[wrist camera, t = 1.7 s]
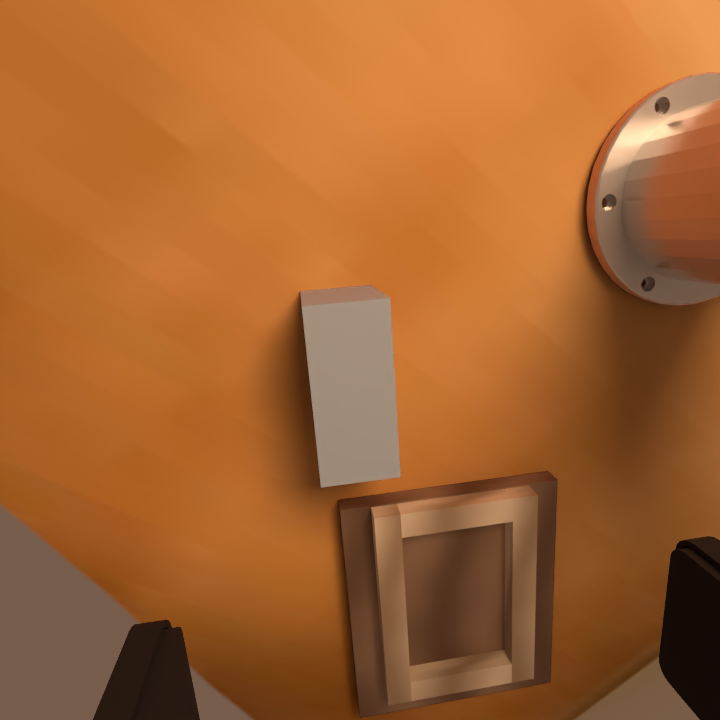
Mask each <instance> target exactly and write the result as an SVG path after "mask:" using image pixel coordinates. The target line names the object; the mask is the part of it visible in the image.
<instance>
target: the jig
mask: <svg viewBox="0 0 720 720" xmlns="http://www.w3.org/2000/svg"><path fill="white" fill-rule="evenodd" d="M338 501H339V512H340V522H341V532H342V543H343V553H344V563H345V573H346V584H347V594H348V604H349V615H350V625H351V635H352V645H353V656H354V666H355V676H356V687H357V697H358V706H359V713H360V718H362V717H367V716H373V715H378V714H384V713H389V712H394V711H400V710H405V709H410V708H416V707H421V706H426V705H432V704H437V703H443V702H448V701H453V700H459V699H464V698H469V697H475V696H480V695H486V694H491V693H496V692H502V691H507V690H512V689H518V688H523V687H528V686H534V685H539V684H545V683H550V677H551V648H552V619H553V590H554V562H555V533H556V504H557V479H556V478H555V477H554V476H553V475H551V474H550V473H549V472H548V471H546V472H539V473H531V474H524V475H517V476H509V477H502V478H495V479H487V480H480V481H473V482H466V483H458V484H451V485H444V486H436V487H429V488H422V489H415V490H407V491H400V492H393V493H385V494H378V495H371V496H364V497H356V498H349V499H342V500H338Z"/></svg>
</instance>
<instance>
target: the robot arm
mask: <svg viewBox="0 0 720 720" xmlns="http://www.w3.org/2000/svg"><path fill="white" fill-rule="evenodd" d="M602 201H603V205H602ZM586 213H587V224H588V233H589V236H590V240H591V243H592V247H593V250H594V252H595V254H596V256H597V258H598V260H599V262H600V264H601V266H602V268H603V269H604V270H605V272H606V273H607V274H608V275H609V277H610V278H611V279H612V280H613V282H615V283H616V284H617V285H618V286H620V287H621V288H622V289H623V290H625V291H626V292H627V293H629V294H632V295H634V296H636V297H638V298H640V299H642V300H646V301H650V302H655V303H659V304H666V305H675V306H681V305H691V304H698V303H701V302H704V301H708V300H711V299H714V298H716V297H718V296H720V73H716V72H708V73H702V74H696V75H690V76H687V77H685V78H682V79H679V80H677V81H674V82H671V83H669V84H667V85H665V86H663V87H661V88H659V89H657V90H655V91H653V92H651V93H649V94H648V95H647V96H645V97H644V98H643V99H641V100H640V101H639V102H638V103H636V104H635V105H634V106H632V107H631V108H630V109H629V111H628V112H627V113H626V114H625V115H624V116H623V117H622V118H621V119H620V120H619V122H618V123H617V124H616V125H615V127H614V128H613V130H612V131H611V133H610V134H609V136H608V137H607V139H606V141H605V142H604V144H603V146H602V148H601V150H600V153H599V155H598V157H597V160H596V162H595V164H594V167H593V171H592V175H591V179H590V183H589V186H588V195H587V207H586ZM659 663H660V667H661V670H662V672H663V674H664V676H665V678H666V679H667V681H668V682H669V683H670V684H671V686H672V687H673V688H674V689H675V690H676V692H677V693H678V694H679V695H680V696H681V698H682V699H683V700H684V701H685V702H686V703H687V705H688V706H689V707H690V708H691V710H692V711H693V712H694V713H695V714H696V716H697V717H698V718H699V719H700V720H720V540H718V539H716V538H714V537H709V536H708V537H701V538H695V539H688V540H683V541H680V542H679V543H678V544H677V546H676V550H674V551H673V552H672V553H671V557H670V566H669V575H668V584H667V593H666V601H665V610H664V619H663V628H662V637H661V645H660V654H659ZM93 720H200V719H199V714H198V708H197V703H196V698H195V693H194V688H193V683H192V678H191V673H190V668H189V663H188V658H187V653H186V648H185V643H184V637H183V633H182V629H181V628H180V627H176V628H172V627H171V624H170V622H169V620H161V621H155V622H148V623H142V624H135V625H134V626H132V627H131V629H130V631H129V633H128V636H127V638H126V640H125V643H124V645H123V648H122V650H121V653H120V655H119V657H118V660H117V662H116V665H115V667H114V670H113V672H112V674H111V677H110V679H109V682H108V684H107V687H106V689H105V692H104V694H103V696H102V699H101V701H100V704H99V706H98V708H97V711H96V713H95V716H94V718H93Z"/></svg>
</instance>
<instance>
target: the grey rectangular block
mask: <svg viewBox="0 0 720 720" xmlns="http://www.w3.org/2000/svg"><path fill="white" fill-rule="evenodd" d="M300 295H301V305H302V315H303V324H304V333H305V343H306V352H307V361H308V371H309V380H310V389H311V399H312V408H313V418H314V427H315V436H316V446H317V455H318V464H319V474H320V483H321V488H322V487H330V486H337V485H345V484H352V483H360V482H367V481H375V480H382V479H390V478H397V477H401V475H400V458H399V441H398V424H397V407H396V390H395V373H394V356H393V339H392V321H391V304H390V298H389V297H388V296H386V295H385V294H383V293H382V292H380V291H379V290H377V289H376V288H374V287H373V286H371V285H364V286H353V287H342V288H331V289H320V290H309V291H300Z"/></svg>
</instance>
